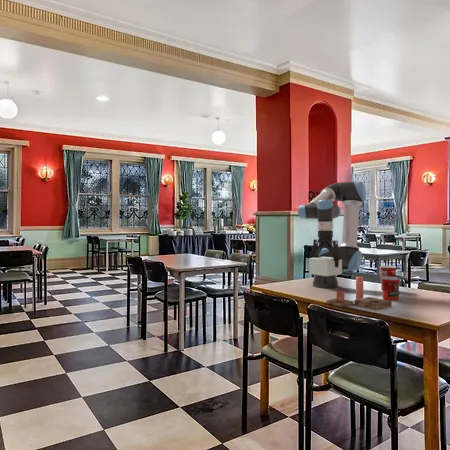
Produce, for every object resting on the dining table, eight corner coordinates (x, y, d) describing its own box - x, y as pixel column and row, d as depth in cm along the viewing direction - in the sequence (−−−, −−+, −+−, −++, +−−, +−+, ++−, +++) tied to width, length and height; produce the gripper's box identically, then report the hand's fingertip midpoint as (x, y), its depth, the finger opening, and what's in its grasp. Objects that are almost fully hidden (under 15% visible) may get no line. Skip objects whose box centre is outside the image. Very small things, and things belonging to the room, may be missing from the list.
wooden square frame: (354, 305, 189) (354, 299, 189) (369, 301, 196) (369, 296, 196) (376, 309, 180) (376, 304, 180) (391, 306, 187) (391, 300, 187)
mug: (377, 289, 231) (377, 265, 231) (392, 288, 231) (392, 265, 230) (385, 293, 218) (385, 268, 218) (402, 293, 218) (402, 268, 218)
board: (326, 303, 193) (326, 290, 193) (338, 301, 199) (338, 288, 199) (341, 306, 186) (341, 293, 186) (353, 304, 191) (353, 290, 191)
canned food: (389, 301, 197) (389, 279, 197) (379, 298, 205) (379, 276, 205) (402, 300, 199) (402, 278, 199) (391, 297, 207) (391, 276, 207)
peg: (354, 300, 199) (354, 277, 199) (358, 300, 201) (358, 276, 201) (360, 302, 196) (360, 277, 196) (364, 301, 198) (364, 277, 198)
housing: (309, 273, 205) (309, 258, 205) (324, 271, 212) (323, 256, 212) (327, 276, 196) (327, 260, 196) (341, 274, 203) (341, 258, 203)
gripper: (302, 229, 211) (303, 270, 212) (339, 230, 192) (340, 275, 192) (312, 229, 216) (312, 269, 216) (349, 230, 196) (349, 274, 197)
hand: (325, 272), depth 204 cm, fingers closed on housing, 12 cm apart
